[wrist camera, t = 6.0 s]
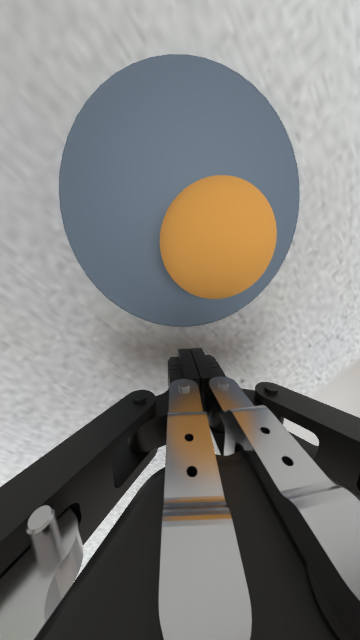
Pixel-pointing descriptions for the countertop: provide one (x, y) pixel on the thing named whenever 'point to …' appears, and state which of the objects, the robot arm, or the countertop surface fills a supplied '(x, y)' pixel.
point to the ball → (218, 237)
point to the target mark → (168, 177)
